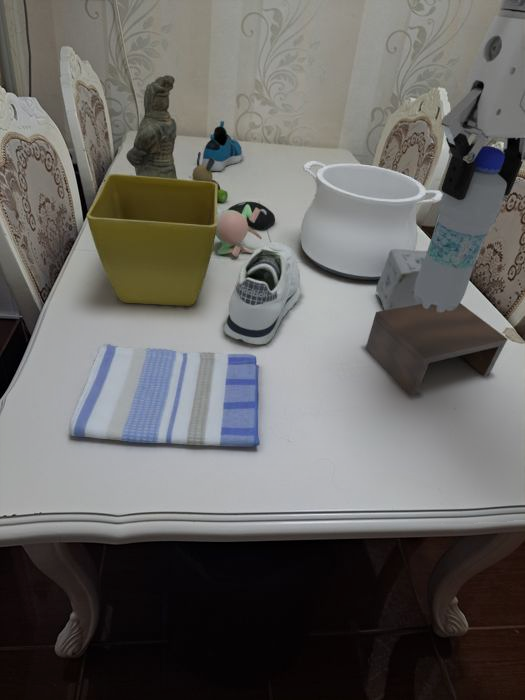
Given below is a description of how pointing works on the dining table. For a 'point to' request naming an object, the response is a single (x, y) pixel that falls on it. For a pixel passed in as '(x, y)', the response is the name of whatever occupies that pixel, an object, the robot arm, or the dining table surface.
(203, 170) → the tan rounded piece
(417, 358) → the shelf
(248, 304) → the running shoe
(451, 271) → the bottle
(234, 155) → the shoe
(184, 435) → the dish towel
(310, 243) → the pot
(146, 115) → the statue
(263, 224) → the computer mouse
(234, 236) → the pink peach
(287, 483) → the dining table surface
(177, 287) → the flower pot
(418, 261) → the white printed box
